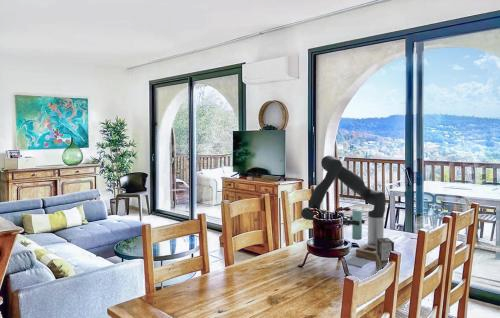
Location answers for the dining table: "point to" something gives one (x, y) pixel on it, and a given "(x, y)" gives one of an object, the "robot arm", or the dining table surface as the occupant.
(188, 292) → the dining table surface
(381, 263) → the coffee box
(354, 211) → the teal peg
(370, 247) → the walnut holder
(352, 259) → the slate mat
